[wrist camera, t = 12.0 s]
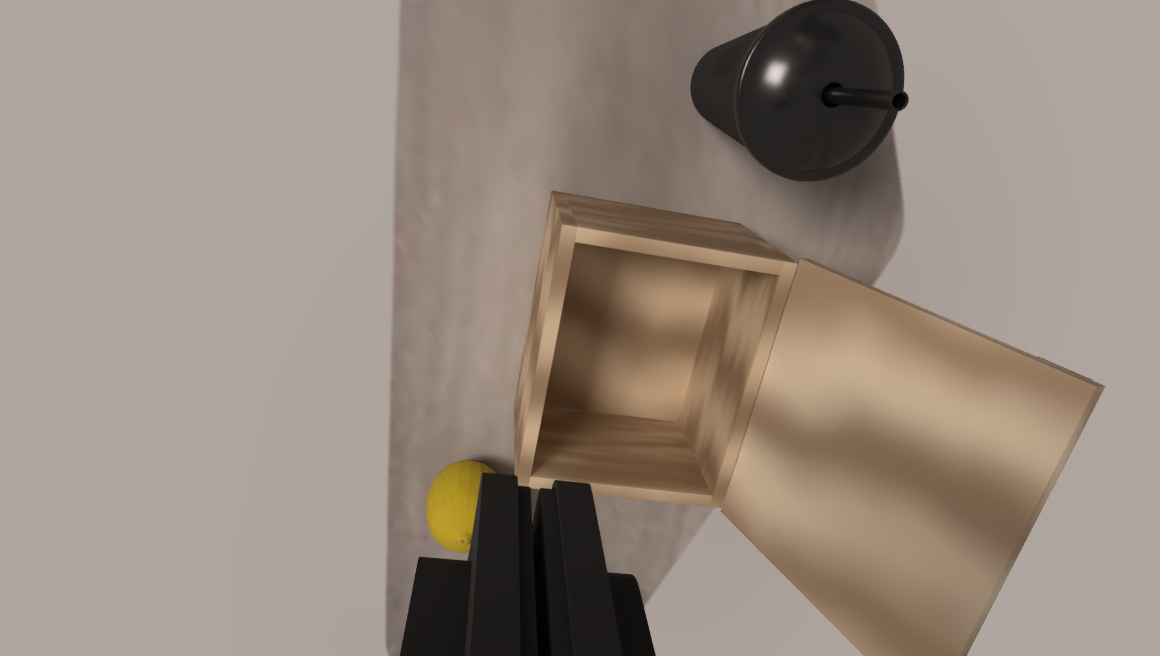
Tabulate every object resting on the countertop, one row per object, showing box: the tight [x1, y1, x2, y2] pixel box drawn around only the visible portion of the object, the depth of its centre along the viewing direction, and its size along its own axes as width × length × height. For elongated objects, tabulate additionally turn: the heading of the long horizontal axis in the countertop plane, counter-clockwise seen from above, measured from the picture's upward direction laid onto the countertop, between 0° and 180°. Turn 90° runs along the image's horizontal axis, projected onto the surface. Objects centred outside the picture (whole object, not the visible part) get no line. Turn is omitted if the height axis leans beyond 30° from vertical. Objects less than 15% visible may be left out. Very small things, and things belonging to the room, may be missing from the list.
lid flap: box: [721, 259, 1105, 656], centre depth 33 cm, size 17×15×1 cm
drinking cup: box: [691, 0, 909, 181], centre depth 33 cm, size 8×8×20 cm
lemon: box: [426, 460, 496, 553], centre depth 47 cm, size 6×6×8 cm
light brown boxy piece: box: [514, 191, 798, 508], centre depth 42 cm, size 16×13×10 cm
